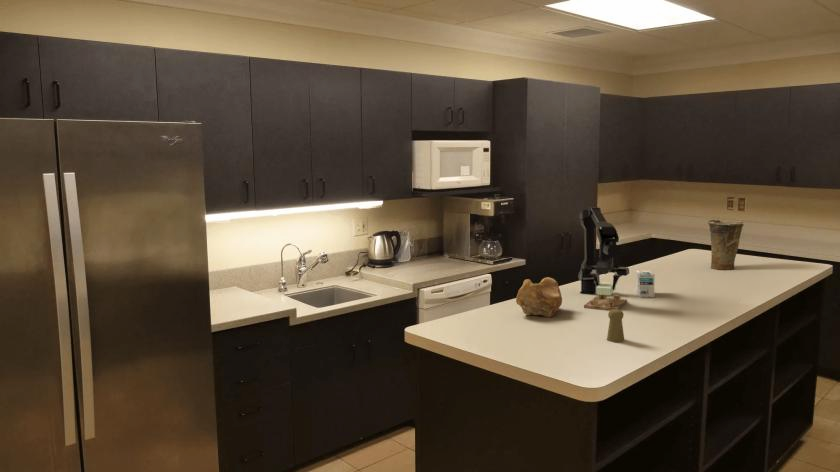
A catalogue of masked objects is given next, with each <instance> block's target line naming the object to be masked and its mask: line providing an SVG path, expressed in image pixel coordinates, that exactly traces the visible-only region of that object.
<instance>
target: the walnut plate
mask: <svg viewBox="0 0 840 472" xmlns="http://www.w3.org/2000/svg"><path fill="white" fill-rule="evenodd" d="M627 303H628V299H625V298H623V299H622V298H621V294H620V295H619V294H613V297H608V295H600V294H598V296H595V297H594V298H592V299H590V300H589V301H588V302H586V303H585V304H584V305H583V307H584V309H592V310H600V311H601V310H603V311H608V312H609V311H610V310H613V309H617V310H621V308H622V307H623V306H625V305H626V304H627Z"/></svg>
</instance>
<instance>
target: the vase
mask: <svg viewBox="0 0 840 472" xmlns="http://www.w3.org/2000/svg"><path fill="white" fill-rule="evenodd" d="M707 224H708V225H709V232H710V246H711V248H710V249H711V260H710V261H711V263H710V269H713V270H719V271H733V270H734V269H735V262H736V261H735V260H736V257H737V253H738V250H739V245H740V239H741V234H742V231H743V227H744V226H745V223H744V221H739V220H738V221H721V220H719V219H717V220H716V219H710V220H707Z"/></svg>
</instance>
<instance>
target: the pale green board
mask: <svg viewBox="0 0 840 472" xmlns="http://www.w3.org/2000/svg"><path fill="white" fill-rule="evenodd" d="M616 286H617V285H616ZM616 286H615V289H614V290H613V282H605V281H602V282H601V281H600V284H599V285H598V286H597V287H596V293H595V295H599V294H600V295H607V296H611V295H612V294H613V293H614V292H615V291H616V289H617V288H616Z"/></svg>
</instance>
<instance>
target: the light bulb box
mask: <svg viewBox="0 0 840 472" xmlns="http://www.w3.org/2000/svg"><path fill="white" fill-rule="evenodd" d="M636 294H637V295H638V296H639V298H655V274H654V273H653V271H652V270H640V269H639V270H636Z"/></svg>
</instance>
